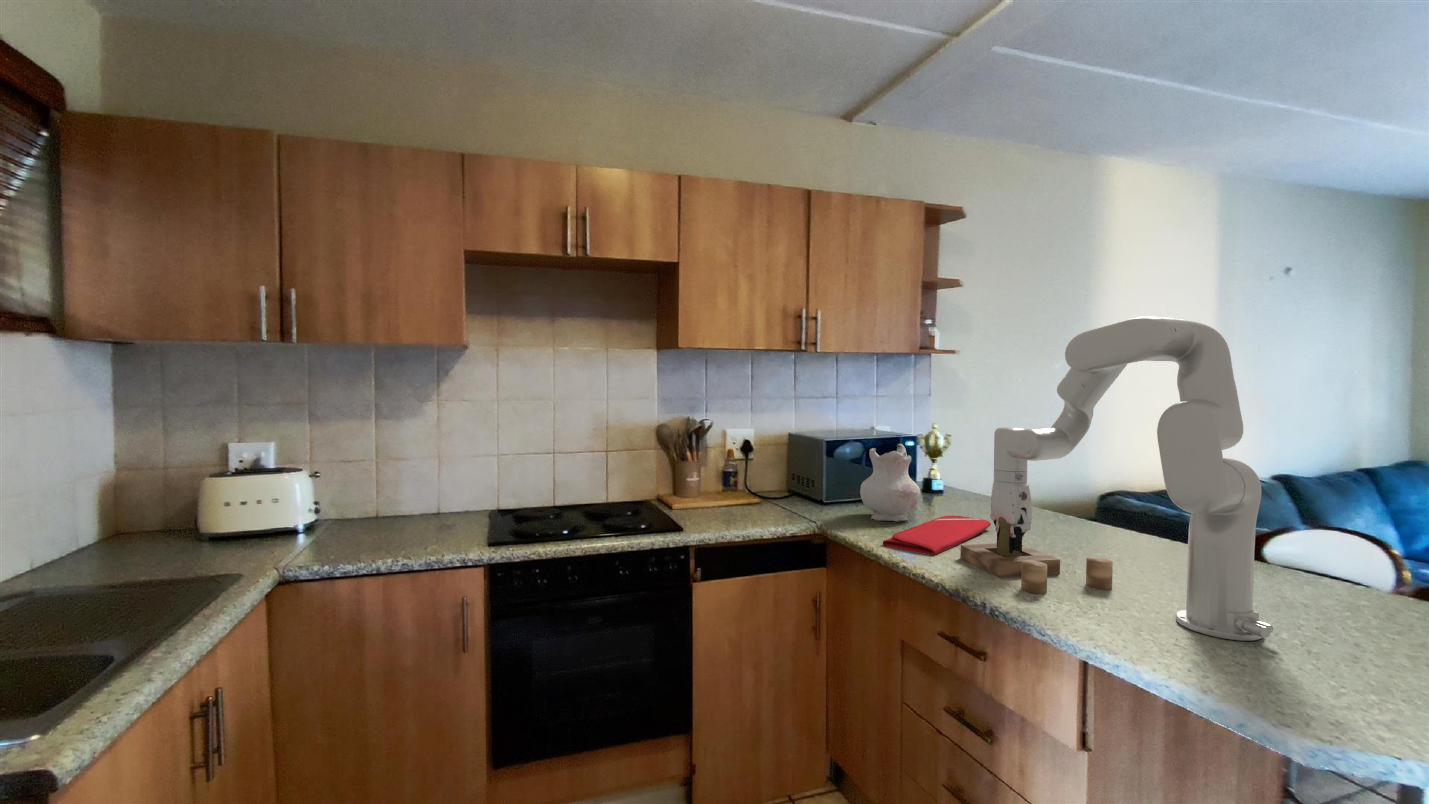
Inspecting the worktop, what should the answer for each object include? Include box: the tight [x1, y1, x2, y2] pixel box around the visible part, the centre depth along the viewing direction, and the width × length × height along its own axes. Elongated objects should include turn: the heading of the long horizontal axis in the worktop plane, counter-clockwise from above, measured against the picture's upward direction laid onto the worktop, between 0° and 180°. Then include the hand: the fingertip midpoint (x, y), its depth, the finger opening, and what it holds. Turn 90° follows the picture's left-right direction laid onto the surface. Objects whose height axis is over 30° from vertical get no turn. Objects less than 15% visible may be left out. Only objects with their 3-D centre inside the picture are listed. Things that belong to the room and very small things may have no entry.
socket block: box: [959, 542, 1061, 578], centre depth 154 cm, size 16×16×4 cm
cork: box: [996, 517, 1022, 557], centre depth 153 cm, size 6×6×11 cm
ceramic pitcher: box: [859, 443, 922, 523], centre depth 209 cm, size 22×20×25 cm
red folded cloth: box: [882, 515, 992, 557], centre depth 182 cm, size 16×41×4 cm, turn 136°
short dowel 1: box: [1020, 560, 1048, 595], centre depth 135 cm, size 5×5×6 cm
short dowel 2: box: [1085, 556, 1114, 591], centre depth 138 cm, size 5×5×6 cm
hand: (1009, 549), depth 153 cm, fingers closed on cork, 3 cm apart
